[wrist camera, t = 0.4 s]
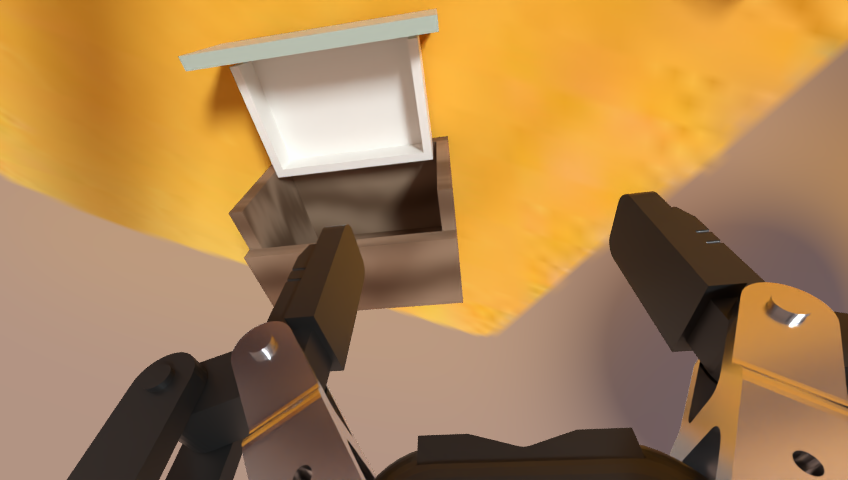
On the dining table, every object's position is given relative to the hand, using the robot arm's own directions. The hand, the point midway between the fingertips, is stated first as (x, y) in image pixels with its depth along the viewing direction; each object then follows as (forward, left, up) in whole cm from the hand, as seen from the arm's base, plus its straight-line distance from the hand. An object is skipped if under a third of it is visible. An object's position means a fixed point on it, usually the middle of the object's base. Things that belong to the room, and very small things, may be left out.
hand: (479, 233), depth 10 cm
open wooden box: (+13, -10, -27) cm, 31 cm away
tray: (+1, -10, -26) cm, 27 cm away
